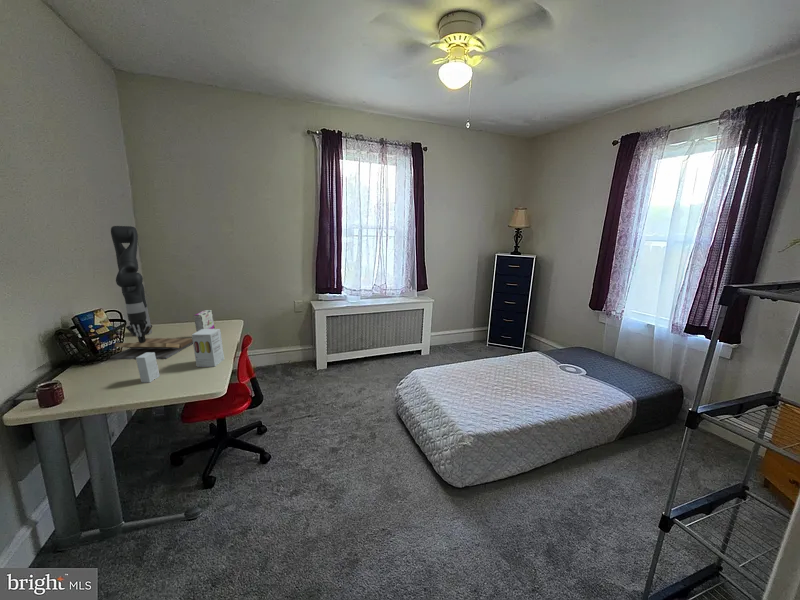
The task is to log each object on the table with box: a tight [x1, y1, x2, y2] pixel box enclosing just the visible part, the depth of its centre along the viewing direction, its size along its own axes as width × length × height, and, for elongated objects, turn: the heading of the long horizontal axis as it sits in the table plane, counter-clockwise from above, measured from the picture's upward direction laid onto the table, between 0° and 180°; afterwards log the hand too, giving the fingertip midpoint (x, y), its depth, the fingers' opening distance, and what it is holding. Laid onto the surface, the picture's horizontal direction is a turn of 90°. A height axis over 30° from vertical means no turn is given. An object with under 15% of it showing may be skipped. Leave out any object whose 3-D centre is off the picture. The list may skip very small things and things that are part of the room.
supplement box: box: [191, 328, 225, 368], centre depth 164 cm, size 10×9×17 cm
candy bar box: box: [193, 309, 216, 332], centre depth 201 cm, size 11×5×16 cm, turn 179°
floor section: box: [109, 337, 193, 360], centre depth 184 cm, size 30×24×3 cm
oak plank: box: [114, 342, 180, 349], centre depth 179 cm, size 28×10×2 cm, turn 88°
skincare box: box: [135, 352, 161, 383], centre depth 148 cm, size 6×4×12 cm
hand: (142, 342), depth 175 cm, fingers closed
